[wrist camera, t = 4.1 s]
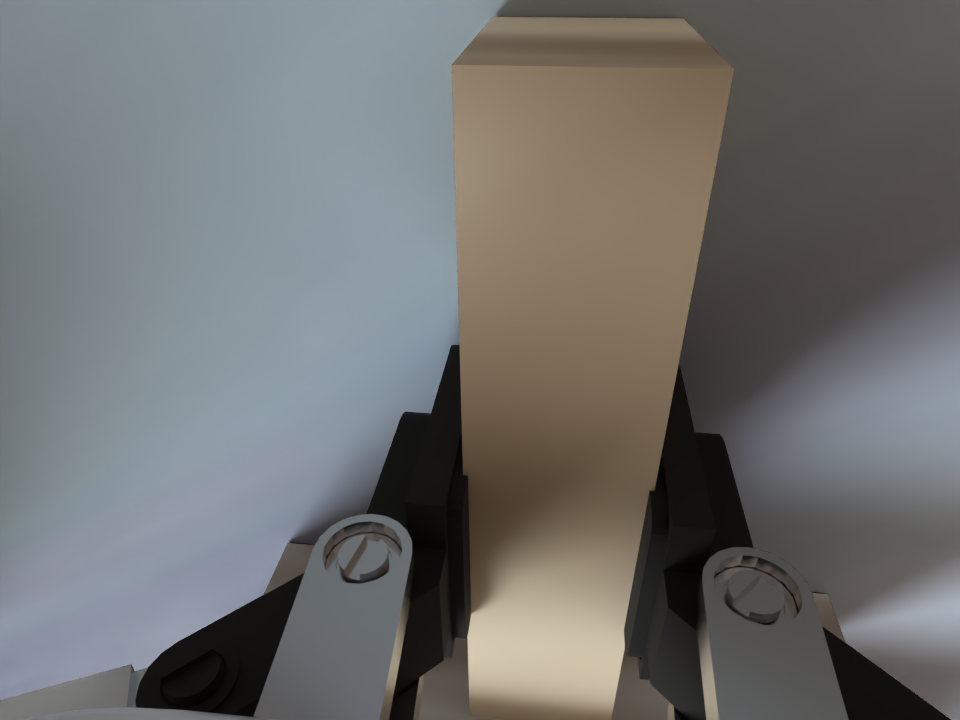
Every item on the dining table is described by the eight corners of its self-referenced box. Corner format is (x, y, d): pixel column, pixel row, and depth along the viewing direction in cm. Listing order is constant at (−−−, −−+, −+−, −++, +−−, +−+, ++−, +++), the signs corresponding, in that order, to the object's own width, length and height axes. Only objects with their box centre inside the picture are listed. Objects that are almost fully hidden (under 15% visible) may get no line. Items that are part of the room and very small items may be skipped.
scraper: (160, 13, 10) (-109, 77, 6) (1078, 21, 8) (1490, 109, 5) (298, 584, 16) (215, 780, 13) (809, 636, 15) (883, 871, 11)
